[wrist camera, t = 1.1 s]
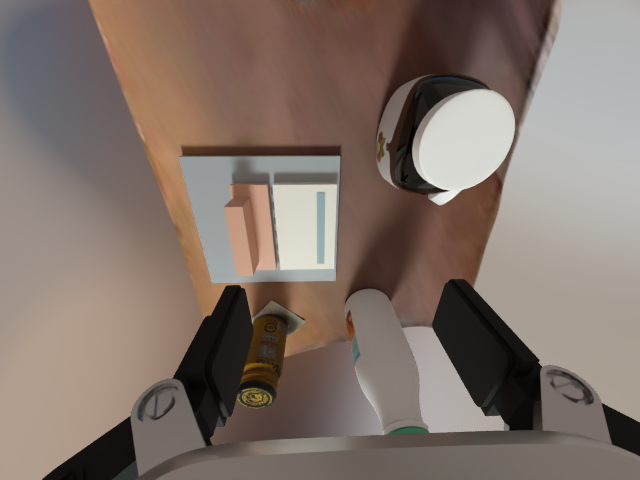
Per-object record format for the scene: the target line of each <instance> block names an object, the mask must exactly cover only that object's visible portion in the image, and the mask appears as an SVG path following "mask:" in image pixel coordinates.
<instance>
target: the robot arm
mask: <svg viewBox="0 0 640 480" xmlns="http://www.w3.org/2000/svg"><path fill="white" fill-rule="evenodd" d="M432 325H433V330H434V332H435V333H436V335H437V337H438V339H439V340H440V342H441V344H442V346H443V348H444V349H445V351H446V353H447V355H448V356H449V358H450V360H451V362H452V363H453V365H454V367H455V369H456V371H457V373H458V374H459V376H460V378H461V380H462V381H463V383H464V385H465V387H466V389H467V390H468V392H469V394H470V396H471V397H472V399H473V401H474V403H475V404H476V405H477V406H478V407H481V409H482V411H483V413H484V414H485V416H499V415H500V416H501V417H502V419H503V420H504V431H476V432H448V433H420V434H395V435H371V436H347V437H327V438H305V439H283V440H268V441H252V442H237V443H228V444H221V445H212V442H211V439H210V438H211V437H212V436H213V434H214V430H215V427H224V426H225V423H226V419H227V417H230V416H231V415H232V412H233V409H234V405H235V401H236V398H237V394H238V391H239V387H240V383H241V379H242V376H243V372H244V368H245V364H246V361H247V357H248V353H249V349H250V346H251V342H252V338H253V333H254V329H253V324H252V319H251V315H250V310H249V306H248V301H247V296H246V292H245V289H244V288H241V286H240V285H228V286H226V287H225V289H224V291H223V293H222V295H221V297H220V299H219V301H218V303H217V305H216V307H215V309H214V311H213V313H212V315H211V316H207V317H205V319H204V320H203V322H202V324H201V326H200V328H199V330H198V331H197V333H196V335H195V337H194V339H193V341H192V343H191V345H190V347H189V348H188V350H187V352H186V354H185V356H184V358H183V360H182V362H181V364H180V365H179V368H178V370H177V371H176V373H175V375H174V377H173V379H166V380H162V381H160V382H158V383H156V384H154V385H152V386H151V387H150V388H148V389H147V390H146V391H145V392H144V393H143V394H142V395H141V396H140V397H139V398H138V400H137V401H136V403H135V404H134V406H133V409H132V411H131V416H130V417H128V418H127V419H126V420H124V421H123V422H121V423H120V424H118V425H117V426H116V427H114V428H113V429H111V430H110V431H108V432H107V433H105V434H104V435H103V436H101V437H100V438H98V439H97V440H95V441H94V442H93V443H91V444H90V445H88V446H87V447H85V448H84V449H83V450H81V451H80V452H78V453H77V454H75V455H74V456H73V457H71V458H70V459H68V460H67V461H65V462H64V463H63V464H61V465H60V466H58V467H57V468H55V469H54V470H53V471H52V472H50V473H49V474H48V475H47V476H45V477H44V478H43V479H42V480H640V422H638V421H636V420H634V419H632V418H630V417H628V416H626V415H624V414H622V413H620V412H618V411H616V410H614V409H612V408H610V407H608V406H607V405H605V404H602V403H601V400H600V398H599V396H598V394H597V393H596V391H595V390H594V389H593V388H592V387H591V386H590V385H589V384H588V383H587V382H586V381H585V380H583V379H582V378H580V377H579V376H578V375H576V374H574V373H573V372H570V371H569V370H567V369H564V368H561V367H558V366H553V365H548V366H544V367H542V366H541V365H540V364H539V363H538V362H539V359H538V358H537V357H536V356H535V355H534V354H533V353H532V351H531V350H530V349H529V348H528V347H527V346H526V345H525V344H524V343H523V342H522V341H521V340H520V339H519V337H518V336H517V335H516V334H515V333H514V332H513V331H512V330H511V329H510V328H509V327H508V325H507V324H506V323H505V322H504V321H503V320H502V319H501V318H500V317H499V316H498V315H497V314H496V313H495V311H494V310H493V309H492V308H491V307H490V306H489V305H488V304H487V303H486V302H485V301H484V300H483V298H482V297H481V296H480V295H479V294H478V293H477V292H476V291H475V290H474V289H473V288H472V286H471V285H470V284H469V283H468V282H467V281H466V280H464V279H451V280H449V281H448V283H446V284H445V286H444V289H443V292H442V295H441V298H440V301H439V304H438V307H437V310H436V313H435V317H434V320H433V323H432Z"/></svg>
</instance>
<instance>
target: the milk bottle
mask: <svg viewBox="0 0 640 480" xmlns="http://www.w3.org/2000/svg"><path fill="white" fill-rule="evenodd" d="M345 316H346V322H347V328H348V334H349V339H350V345H351V350H352V355H353V360H354V365H355V370H356V374H357V378H358V381H359V383H360V386H361V388H362V390H363V392H364V394H365V395H366V397H367V398H368V400H369V401H370V403H371V404H372V406H373V408H374V409H375V411H376V413H377V415H378V417H379V419H380V421H381V424H382V427H383V432H382V435H395V434H420V433H429V431H428V426H427V425H426V424H425V423H424V422H423V420H422V417H421V411H420V403H419V373H418V368H417V365H416V361H415V359H414V356H413V353H412V351H411V348H410V346H409V343H408V341H407V339H406V337H405V334H404V332H403V329H402V327H401V325H400V323H399V320H398V318H397V316H396V313H395V311H394V309H393V307H392V304H391V302H390V300H389V298H388V297H387V295H385V294H384V293H383V292H381V291H379V290H376V289H371V288H370V289H362V290H359V291H357V292H355V293H353V294H352V295H351V296H350V297H349V298H348V300H347V301H346V304H345Z"/></svg>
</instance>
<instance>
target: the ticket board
mask: <svg viewBox="0 0 640 480" xmlns="http://www.w3.org/2000/svg"><path fill="white" fill-rule="evenodd" d="M178 158H179V162H180V165H181V169H182V173H183V176H184V180H185V184H186V188H187V191H188V195H189V199H190V203H191V206H192V210H193V214H194V217H195V221H196V225H197V229H198V232H199V236H200V240H201V244H202V247H203V251H204V255H205V258H206V262H207V266H208V270H209V273H210V277H211V281H212V283H239V282H291V281H335V277H336V252H337V227H338V203H339V178H340V155H221V156H179V157H178ZM231 183H269V193H270V203H271V213H272V223H273V233H274V243H275V252H276V262H277V268H276V270H256V271H255V273H254V276H237V272H236V267H235V262H234V257H233V253H232V248H231V243H230V238H229V233H228V228H227V223H226V218H225V213H224V208H223V207H224V206H225V205H226V204H227V203H228V202H229V201H230V200H231V199H232V198H231V193H230V187H229V185H230V184H231Z"/></svg>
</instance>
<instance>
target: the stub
mask: <svg viewBox="0 0 640 480" xmlns="http://www.w3.org/2000/svg"><path fill="white" fill-rule="evenodd" d="M229 187H230V193H231V198H232V199H231V200H230V201H229V202H228V203H227V204H226V205H225V206H224V207H223V208H224V213H225V218H226V223H227V228H228V233H229V238H230V243H231V248H232V253H233V257H234V262H235V267H236V272H237V276H254V273H255V271H256V270H276V268H277V262H276V252H275V243H274V233H273V223H272V213H271V203H270V193H269V183H231V184H230V185H229Z"/></svg>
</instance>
